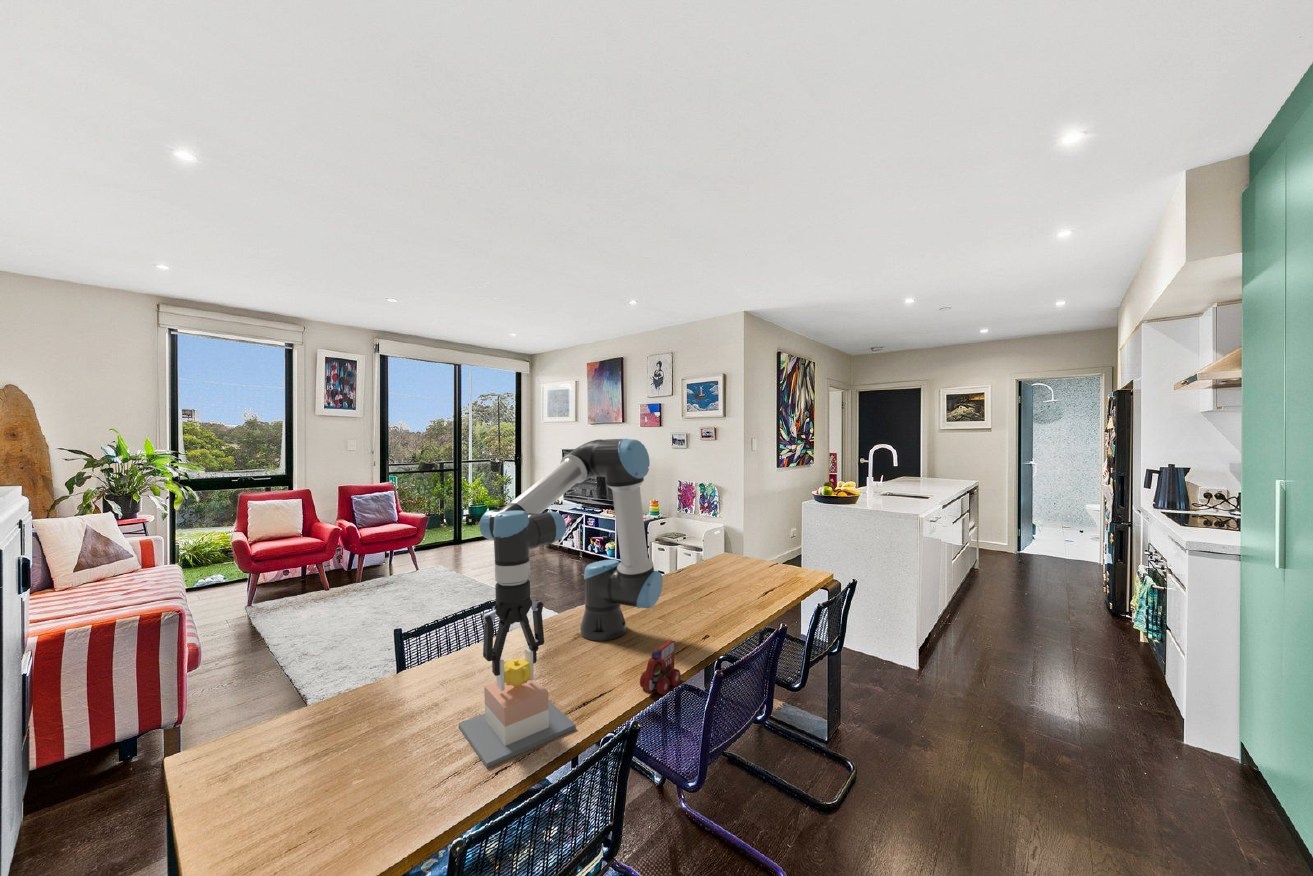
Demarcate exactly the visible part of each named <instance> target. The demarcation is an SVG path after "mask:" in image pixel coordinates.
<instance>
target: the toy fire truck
mask: <svg viewBox="0 0 1313 876" xmlns="http://www.w3.org/2000/svg"><path fill="white" fill-rule="evenodd" d="M675 650H676V642H675V640H672V639H669V640H668V641H666V642H665V643H663V644H662V645H660V646H658V647H657V649H655V650H653V651H652V652H651V655H650V656H651V658H649V659H648V662H647V666H646V669H645V670H644V671H643V672H642V674H641V675H640V678H639V685H640V687H641V688H642V689H644V690H645V691H647V692H650V693H651V692H652V691H653V690H654V689H656V691H657V693H658V694H660V695H663V696H664V695H666V694H667V693H668V691H669V689H670V686H672V687H676V686H677V685H679V684H680V680H681V675H682V674H681V671H680V669H677V668H675Z"/></svg>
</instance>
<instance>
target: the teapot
mask: <svg viewBox="0 0 1313 876" xmlns="http://www.w3.org/2000/svg"><path fill="white" fill-rule="evenodd" d="M530 679H531V670H530V664H529V662H526V661H525V659H520V658H513V659H511V660H510V661H508V662H507V661H505V660H504V680H505V683H506V685H512V686H514V688H518V687H519V686H520V685H522V684H524V683H527V681H529V680H530Z"/></svg>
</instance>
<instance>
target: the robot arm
mask: <svg viewBox="0 0 1313 876" xmlns="http://www.w3.org/2000/svg"><path fill="white" fill-rule="evenodd" d="M650 462H651V460H650V455H649V452H648V450H647V448H646V446H645V444H644V443H642V442H641V441H640V440H638V439H631V438H611V439H610V438H609V439H608V438H607V439H595V440H594V439H593V440H590V441H588V442H584V443H583V444H581V445H579V446H578V447H576V448H574V449H573V450H571V451H570V452H569V453H567V454H566V455H564V456H563V457H562V458H561V460H560V463H559V465H557V466H555V467H554V468H553V469H552V470H550V471H549V472H548V473H547V474H545V475H544V476H543V477H541V478H540V479H539V480H538V481H536V482H535V483H534V484H533V485H530V487H529V488H527V489H526V490H525V491H524V492H522V493H521V494H519V495H518V496H517V497H515V498H514V499H513V500H512V501H510V502H509V503H508V504H507V505H505V506H504V507H502V508H501V509H499V510H498V509H491V510H489V511H488V510H487V511H485V512H484V513H483V515H482V516H481V518H480V521H479V524H478V525H479V531H480V534H481V535H482V537H483V538H485V539H488V540H493V547H494V548H493V549H494V550H493V551H494V577H495V578H494V579H495V582H496V583H495V587H494V588H495V606H494V607H493V610H491V611H489V612H483V613H482V615H481V617H482V618H481V619H482V621H483V641H482V642H483V644H482V645H483V648H482V657H483V658H484V659H485V660H486V662H487V661H488V662H491V668H492V669H491V671H492V674H493V675H494V676H495V677H496V682H497V687H498V688H499V689H500V690H501V691H503V690H505V680H504V661H505V660H504V659H503V658H502V654H503V651H504V647H505V643H506V640H507V635H508V632H509V630H510V627H511V625H513V624H515V623H519V625H520V627H521V630H522V632H523V635H524V637H525V641H526V644H527V646H528V647H525V648H524V661H526V662H529V664H530V670H531V679H530V681H532V680H535V679H534V664H537V661H538V659H537V658H538V657H537V651H539V647H540V646H543V645H544V644H545V634H544V621H543V610H544V602H542V601H541V600H539V599H535V600H532V599H531V581H530V580H529V579H530V577H531V575H530V574H531V569H530V567H531V565H530V550H533V549H536V548H539V547H543V546H547V545H552V544H554V543H556V542H558V541H560V540H561V539H563V537H565V534H566V530H567V529H566V528H567V527H566V526H567V525H566V521H565V519H564V517H563V515H561V513H559V512H557V511H545V510H547V509H548V508H549V507H550V506H552V505H553V504H554V503H555V502H556V501H557V500H558V499H560V497H562V496H563V495H564V494H565V493H567V492H568V491H569V490H570V489H571V488H573V486H575V485H576V484H582V483H584V482H585V481H586V480H587V479H590V478H595V477H601V478H602V477H603V478H604V477H605V483H606V484H605V485H606V486H607V488H609V489H611V493H612V501H613V507H614V508H613V509H614V516H615V523H616V532H617V540H618V547H619V555H620V561H619V560H617V559H604V560H599V561H598V560H597V561H594V562H592V563H589V564H587V565H586V566H585V568H584V574H583V576H584V578H583V581H584V605H585V606H584V613H583V617H582V620H581V624H580V626H579V627H580V632H579V633H580V635H581V636H582V638H584V639H587V640H590V641H599V642H600V641H610V640H614V639H617V638H620V637H621V636H624V634H625V633H626V631H627V623H626V620H625V617H624V613H623V610H622V608H621V605H623V606H627V607H628V606H629V607H635V608H637V609H651V608H653V607H654V606H655V605H657V602H658V601H659V600H660V597H661V594H662V592H663V591H662V590H663V582H664V580H663V575H662V573H661V572H660V571H658V570H655V567H654V562H653V560H651V559H650V558H649V556H648V548H647V541H646V540H647V539H646V530H645V523H644V522H645V521H644V512H643V505H642V495H641V487H640V486H641V485H642V484H643V483H644V481H645V477H646V476H647V475H648V473H649V469H650V468H649V467H650V465H651V464H650ZM530 610H532V621H533V630H532V628H531V625H530V620H529V617H528V613H529V611H530ZM496 616H497V617H498V618H499V621H498V628H497V632H496V636H495V640H494V629H495V628H494V622H496ZM533 632H534V633H533Z"/></svg>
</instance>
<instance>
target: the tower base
mask: <svg viewBox="0 0 1313 876" xmlns="http://www.w3.org/2000/svg"><path fill="white" fill-rule="evenodd" d="M483 687H484V688H483V689H484V691H483V693H484V695H483V696H484V713H482V714H479V715H477V716H474V717H472V718H469V719H467V720H466V719H465V720H463V721H460V722H458V728H459V730H460V732H461V733H462V734H463V736H464V737H465V739H466V740H467V741H468V744H469V745H470V747H471V748H472V749H473V751H474V752H475V754H476V755H477V756H478V758H479V759H480V761H481V762H482V764H483V765H484V766H485V768H486V769H489V768H491V767H494V766H495V765H498V764H500V763H503V762H505V761H506V760H509V759H511V758H514V757H517V756H519V755H521V754H523V753H525V752H528V751H529V750H531V749H535V748H537V747H539V746H542V745H543V744H545V743H547V742H549V741H552V740H554V739H557V738H559V737H560V736H563V735H565V734H567V733H571V732H573V731H575V730H576V728H577V727H576V726H577V724H576V723H574V722H573V720H571V719H570V718H569V717H568V716H567V715H566V714H564V713H563V712H562V711H561V710H560V709H559V708H558V707H557V706H556V705H555V704H553V703H552V702H551V701H550V700H549V691H548V689H546V688H545V687H543V685H541V684H540V683H539V682H538V681H537V680H536V679H534V680H532V681H530V680H529V681H527V683H524V684H522V685H520V686H519V687H518V688H514V686H512V685H506V683H505V690H503V691H501V690H500V689H499V688H498V687H497V681H494V682H491V683H489V684H486V685H484V686H483Z"/></svg>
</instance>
